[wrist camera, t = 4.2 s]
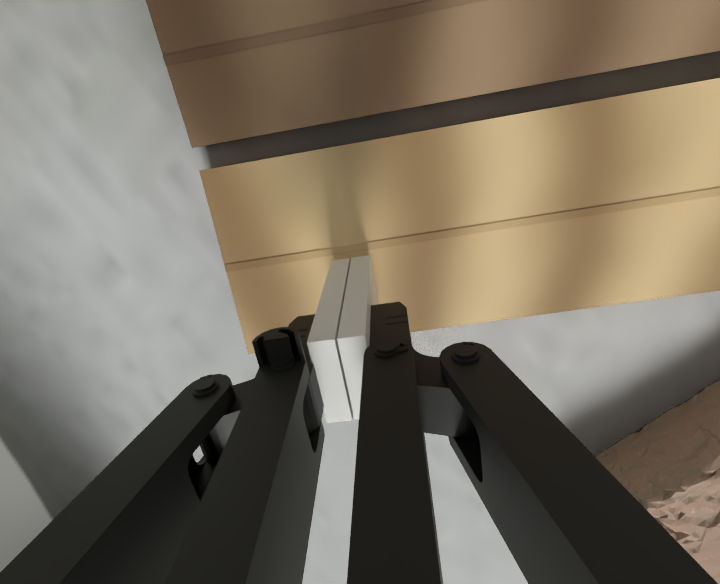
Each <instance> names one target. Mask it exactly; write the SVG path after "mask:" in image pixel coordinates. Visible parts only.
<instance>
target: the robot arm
mask: <svg viewBox="0 0 720 584" xmlns="http://www.w3.org/2000/svg"><path fill="white" fill-rule="evenodd" d="M252 344H253V347H254V351H255V354H256V357H257V360H258V364H259V367H260V368H259V370H258V372H257V374H256V377H255V378H254V379H252V380H249V381H246V382H243V383H240V384H237V385H232V382H231V380H230V378H229V377H228V376H227V375H222V374H215V375H207V376H204V377H201V378H200V379H198V380H196V381H194V382H193V383H191V384H190V385H189V386H187V387H186V388H185V389H184V390H183V391H182V392H181V393H180V394H179V395H178V396H177V397H176V398H175V399H174V400H173V401H172V402H171V403H170V404H169V405H168V406H167V407H166V408H165V409H164V410H163V411H162V412H161V413H160V414H159V415H158V416H157V417H156V418H155V419H154V420H153V421H152V422H151V423H150V424H149V425H148V426H147V427H146V428H145V429H144V430H143V431H142V432H141V433H140V434H139V435H138V436H137V437H136V438H135V439H134V440H133V441H132V442H131V443H130V444H129V445H128V446H127V447H126V448H125V449H124V450H123V451H122V452H121V453H120V454H119V455H118V456H117V457H116V458H115V459H114V460H113V461H112V462H111V463H110V464H109V465H108V466H107V467H106V468H105V469H104V470H103V471H102V472H101V473H100V474H99V475H98V476H97V477H96V478H95V479H94V480H93V481H92V482H91V483H90V484H89V485H88V486H87V487H86V488H85V489H84V490H83V491H82V492H81V493H80V494H79V495H78V496H77V497H76V498H75V499H74V500H73V501H72V502H71V503H70V504H69V505H68V506H67V507H66V508H65V509H64V510H63V511H62V512H61V513H60V514H59V515H58V516H57V517H56V518H55V519H54V520H53V521H52V522H51V523H50V524H49V525H48V526H47V527H46V528H45V529H44V530H43V531H42V532H41V533H40V534H39V535H38V536H37V537H36V538H35V539H34V540H33V541H32V542H31V543H30V544H29V545H28V546H27V547H26V548H24V550H22V551H21V552H20V553H19V555H17V556H16V557H15V559H14V560H12V562H10V563H9V565H7V566H6V567H5V568H4V569H3V570H2V571H1V572H0V584H302V579H303V573H304V566H305V560H306V553H307V547H308V540H309V534H310V527H311V521H312V514H313V508H314V501H315V495H316V488H317V481H318V475H319V468H320V462H321V455H322V449H323V442H324V436H325V435H324V428H323V425H322V421H321V419H322V413H323V410H324V414H325V418H326V422H327V423H333V422H342V421H351V420H352V418H353V415H354V419H355V420H359V427H358V441H357V454H356V468H355V482H354V495H353V509H352V523H351V536H350V550H349V564H348V577H347V584H443V579H442V571H441V563H440V555H439V548H438V540H437V532H436V524H435V516H434V508H433V500H432V492H431V484H430V476H429V469H428V461H427V453H426V443H425V436H424V432H425V433H432V434H439V435H446V436H448V437H449V441H450V444H451V446H452V448H453V450H454V451H455V453H456V455H457V457H458V459H459V460H460V462H461V464H462V466H463V467H464V469H465V471H466V473H467V475H468V476H469V478H470V480H471V482H472V484H473V485H474V487H475V489H476V491H477V492H478V494H479V496H480V498H481V500H482V501H483V503H484V505H485V507H486V509H487V510H488V512H489V514H490V516H491V518H492V519H493V521H494V523H495V525H496V526H497V528H498V530H499V532H500V534H501V535H502V537H503V539H504V541H505V543H506V544H507V546H508V548H509V550H510V552H511V553H512V555H513V557H514V559H515V560H516V562H517V564H518V566H519V568H520V569H521V571H522V573H523V575H524V577H525V578H526V580H527V582H528V584H718V583H717V582H716V581H715V580H714V579H713V578H712V577H711V576H710V575H709V574H708V573H707V572H706V571H705V570H704V569H703V568H702V567H701V566H700V564H699V563H698V562H697V561H696V560H695V559H694V558H693V557H692V556H691V555H690V554H689V553H688V552H687V551H686V550H685V549H684V548H683V547H682V546H681V545H680V544H679V543H678V542H677V541H676V540H675V539H674V538H673V537H672V536H671V535H670V534H669V533H668V532H667V531H666V529H665V528H664V527H663V526H662V525H661V524H660V523H659V522H658V521H657V520H656V519H655V518H654V517H653V516H652V515H651V514H650V513H649V512H648V511H647V510H646V509H645V508H644V507H643V506H642V505H641V504H640V503H639V502H638V501H637V500H636V499H635V498H634V497H633V495H632V494H631V493H630V492H629V491H628V490H627V489H626V488H625V487H624V486H623V485H622V484H621V483H620V482H619V481H618V480H617V479H616V478H615V477H614V476H613V475H612V474H611V473H610V472H609V471H608V470H607V469H606V468H605V467H604V466H603V465H602V464H601V463H600V462H599V460H598V459H597V458H596V457H595V456H594V455H593V454H592V453H591V452H590V451H589V450H588V449H587V448H586V447H585V446H584V445H583V444H582V443H581V442H580V441H579V440H578V439H577V438H576V437H575V436H574V435H573V434H572V433H571V432H570V431H569V430H568V429H567V428H566V426H565V425H564V424H563V423H562V422H561V421H560V420H559V419H558V418H557V417H556V416H555V415H554V414H553V413H552V412H551V411H550V410H549V409H548V408H547V407H546V406H545V405H544V404H543V403H542V402H541V401H540V400H539V399H538V398H537V397H536V396H535V395H534V394H533V393H532V391H531V390H530V389H529V388H528V387H527V386H526V385H525V384H524V383H523V382H522V381H521V380H520V379H519V378H518V377H517V376H516V375H515V374H514V373H513V372H512V371H511V370H510V369H509V368H508V367H507V366H506V365H505V364H504V363H503V362H502V361H501V360H500V359H499V358H498V356H497V355H496V354H495V353H494V352H493V351H492V350H491V349H489V348H488V347H486V346H485V345H482V344H479V343H474V342H462V343H455V344H453V345H450V346H448V347H446V348H445V349H444V350H443V351H442V352H441V354H440V356H439V357H431V356H426V355H422V354H420V353H418V352H416V351H415V350H414V349H413V347H412V343H411V336H410V329H409V322H408V315H407V308H406V306H404V305H403V304H402V303H401V302H400V301H399V302H392V303H385V304H378V301H377V295H376V289H375V283H374V277H373V271H372V265H371V259H370V255H366V256H360V257H353V258H351V262H350V258H346V259H339V260H332V261H331V264H330V267H329V270H328V274H327V277H326V280H325V284H324V287H323V290H322V294H321V297H320V300H319V304H318V307H317V310H316V313H315V314H312V315H304V316H298V317H296V318H295V319H294V320H293V321H292V322H291V323H290V324H289V326H288V327H279V328H274V329H270V330H268V331H265V332H263V333H261V334H260V335H258V336H257V337H256V338H255V339H254V340H253V341H252ZM199 445H200V447H201V450H202V452H203V454H204V456H203V457H202V459H201V460H200V461H199V462H198V463H196V462H195V460H194V457H193V455H192V454H193V453H194V451H195V450H196V449H197V448H198V446H199Z"/></svg>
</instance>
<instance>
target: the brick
mask: <svg viewBox="0 0 720 584" xmlns="http://www.w3.org/2000/svg"><path fill="white" fill-rule="evenodd" d="M595 457H596V458H597V459H598V460H599V462H600V463H601V464H602V465H603V466H604V467H605V468H606V469H607V470H608V471H609V472H610V473H611V474H612V475H613V476H614V477H615V478H616V479H617V480H618V481H619V482H620V483H621V484H622V485H623V486H624V487H625V488H626V489H627V490H628V491H629V492H630V493H631V494H632V495H633V497H634V498H635V499H636V500H637V501H638V502H639V503H640V504H641V505H642V506H643V507H644V508H645V509H646V510H647V511H648V512H649V513H650V514H651V515H652V516H653V517H654V518H655V519H656V520H657V521H658V522H659V523H660V524H661V525H662V526H663V527H664V528H665V529H666V531H667V532H668V533H669V534H670V535H671V536H672V537H673V538H674V539H675V540H676V541H677V542H678V543H679V544H680V545H681V546H682V547H683V548H684V549H685V550H686V551H687V552H688V553H689V554H690V555H691V556H692V557H693V558H694V559H695V560H696V561H697V562H698V563H699V564H700V566H701V567H702V568H703V569H704V570H705V571H706V572H707V573H708V574H709V575H710V576H711V577H712V578H713V579H714V580H715V581H716V582H717V583H718V584H720V380H719V381H717V382H715V383H713V384H711V385H709V386H707V387H706V388H704V390H703V391H702V392H700V393H698V394H695V395H694V396H693V397H692V398H691V399H689V400H688V401H687V402H685V403H683V404H681V405H680V406H678V407H675V408H672V409H670V410H668V411H667V412H665V413H664V414H662V415H661V416H660V417H658V418H657V419H655V420H653V421H652V422H650V423H648V424H647V425H645V426H644V427H643V429H642V430H641V431H640V432H636V433H632V434H630V435H628V436H627V437H625V438H624V439H622V440H620V441H619V442H617V443H616V444H614V445H613V446H612V447H610V448H608V449H606V450H604V451H603V452H601V453H600V454H598V455H597V456H595Z"/></svg>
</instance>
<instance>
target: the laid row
mask: <svg viewBox="0 0 720 584" xmlns="http://www.w3.org/2000/svg"><path fill="white" fill-rule="evenodd" d="M146 2H147V5H148V9H149V12H150V15H151V18H152V21H153V25H154V28H155V31H156V34H157V37H158V40H159V44H160V47H161V50H162V53H163V58H164V61H165V64H166V66H167V69H168V72H169V76H170V79H171V82H172V85H173V88H174V91H175V95H176V98H177V101H178V104H179V107H180V111H181V114H182V117H183V120H184V123H185V127H186V130H187V133H188V136H189V139H190V143H191V146H192V148H194V147H200V146H205V145H211V144H216V143H222V142H227V141H233V140H238V139H243V138H249V137H254V136H260V135H265V134H271V133H276V132H281V131H287V130H292V129H298V128H303V127H309V126H314V125H319V124H325V123H330V122H336V121H341V120H347V119H352V118H357V117H363V116H368V115H374V114H379V113H385V112H390V111H395V110H401V109H406V108H412V107H417V106H423V105H428V104H433V103H439V102H444V101H450V100H455V99H461V98H466V97H471V96H477V95H482V94H488V93H493V92H499V91H504V90H510V89H515V88H520V87H526V86H531V85H537V84H542V83H548V82H553V81H558V80H564V79H569V78H575V77H580V76H586V75H591V74H596V73H602V72H607V71H613V70H618V69H624V68H629V67H634V66H640V65H645V64H651V63H656V62H662V61H667V60H672V59H678V58H683V57H689V56H694V55H700V54H705V53H710V52H716V51H720V0H146Z"/></svg>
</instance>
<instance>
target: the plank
mask: <svg viewBox="0 0 720 584" xmlns="http://www.w3.org/2000/svg"><path fill="white" fill-rule="evenodd" d="M200 175H201V178H202V182H203V186H204V190H205V193H206V197H207V201H208V205H209V208H210V212H211V216H212V220H213V223H214V227H215V231H216V234H217V238H218V242H219V246H220V249H221V253H222V257H223V261H224V264H225V265H224V266H225V269H226V272H227V275H228V279H229V283H230V287H231V290H232V294H233V298H234V302H235V305H236V309H237V313H238V317H239V320H240V324H241V328H242V331H243V335H244V339H245V343H246V346H247V350H248V354H252V353H255V351H254V347H253V344H252V341H253V340H254V339H255V338H256V337H257V336H258V335H260V334H261V333H263V332H265V331H268V330H270V329H274V328H279V327H288V326H289V324H290V323H291V322H292V321H293V320H294V319H295V318H296V317H298V316H304V315H312V314H315V313H316V310H317V307H318V304H319V300H320V297H321V294H322V290H323V287H324V284H325V280H326V277H327V274H328V270H329V267H330V264H331V261H332V260H339V259H346V258H350V262H351V258H353V257H360V256H366V255H370V259H371V265H372V271H373V277H374V283H375V289H376V295H377V301H378V304H385V303H392V302H399V301H400V302H401V303H402V304H403V305H404V306H406V308H407V315H408V322H409V329H410V332H415V331H422V330H430V329H437V328H445V327H452V326H459V325H467V324H474V323H482V322H489V321H496V320H504V319H511V318H519V317H526V316H533V315H541V314H548V313H556V312H563V311H571V310H578V309H585V308H593V307H600V306H608V305H615V304H622V303H630V302H637V301H645V300H652V299H659V298H667V297H674V296H682V295H689V294H696V293H704V292H711V291H719V290H720V78H716V79H710V80H705V81H699V82H693V83H688V84H682V85H677V86H671V87H665V88H660V89H654V90H649V91H643V92H637V93H632V94H626V95H621V96H615V97H609V98H604V99H598V100H593V101H587V102H581V103H576V104H570V105H565V106H559V107H553V108H548V109H542V110H537V111H531V112H525V113H520V114H514V115H509V116H503V117H497V118H492V119H486V120H481V121H475V122H469V123H464V124H458V125H453V126H447V127H441V128H436V129H430V130H425V131H419V132H413V133H408V134H402V135H397V136H391V137H385V138H380V139H374V140H369V141H363V142H357V143H352V144H346V145H341V146H335V147H329V148H324V149H318V150H313V151H307V152H301V153H296V154H290V155H285V156H279V157H273V158H268V159H262V160H257V161H251V162H245V163H240V164H234V165H229V166H223V167H217V168H212V169H206V170H201V171H200Z"/></svg>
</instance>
